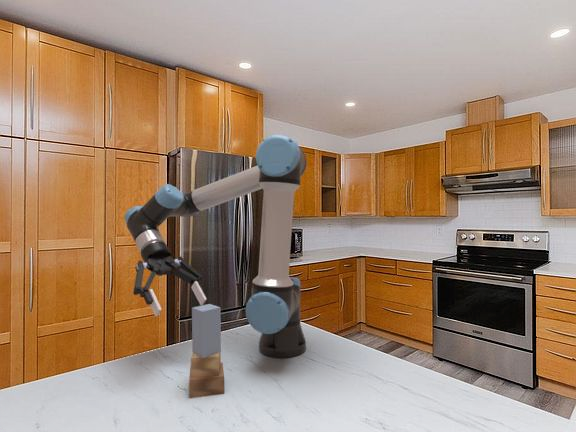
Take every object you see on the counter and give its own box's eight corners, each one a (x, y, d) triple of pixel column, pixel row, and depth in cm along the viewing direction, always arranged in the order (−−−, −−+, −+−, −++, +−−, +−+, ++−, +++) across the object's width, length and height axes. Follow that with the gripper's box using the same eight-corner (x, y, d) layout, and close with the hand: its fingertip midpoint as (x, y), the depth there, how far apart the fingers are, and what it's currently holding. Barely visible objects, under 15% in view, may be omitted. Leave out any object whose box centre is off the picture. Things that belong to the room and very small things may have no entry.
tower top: (220, 363, 87) (220, 346, 87) (218, 375, 80) (218, 356, 80) (194, 365, 86) (194, 347, 86) (190, 377, 79) (190, 358, 79)
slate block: (210, 346, 87) (209, 303, 87) (221, 352, 83) (220, 307, 83) (192, 352, 83) (191, 307, 83) (202, 358, 79) (202, 311, 80)
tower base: (222, 379, 88) (222, 362, 88) (224, 395, 80) (224, 376, 80) (190, 383, 86) (190, 365, 86) (189, 399, 78) (189, 380, 78)
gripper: (185, 253, 111) (214, 306, 101) (105, 261, 92) (131, 327, 82) (194, 237, 108) (225, 290, 98) (113, 242, 89) (141, 308, 79)
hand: (182, 307), depth 90 cm, fingers open, 13 cm apart
